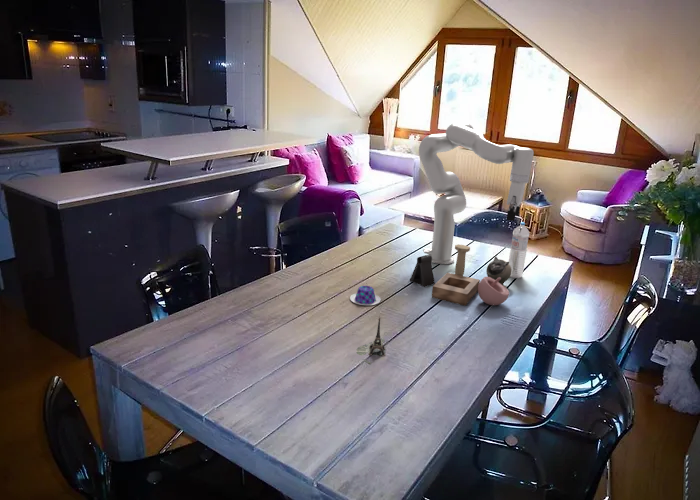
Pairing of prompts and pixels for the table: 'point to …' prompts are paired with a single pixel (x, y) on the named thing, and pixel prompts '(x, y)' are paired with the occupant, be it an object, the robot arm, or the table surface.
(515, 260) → the water bottle
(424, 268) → the door stopper
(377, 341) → the eiffel tower figurine
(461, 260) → the handle
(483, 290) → the mortar and pestle
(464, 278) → the socket block
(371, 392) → the table surface
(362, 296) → the pudding
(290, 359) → the table surface
